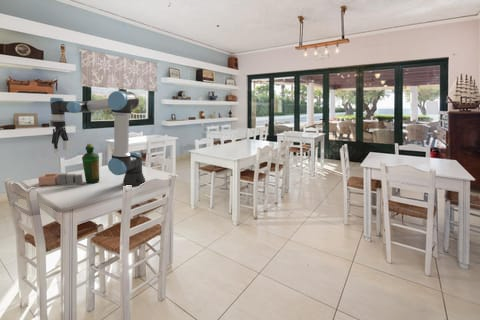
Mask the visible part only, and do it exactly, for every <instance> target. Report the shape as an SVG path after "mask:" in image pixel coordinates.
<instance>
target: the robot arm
mask: <svg viewBox="0 0 480 320" xmlns="http://www.w3.org/2000/svg"><path fill="white" fill-rule="evenodd" d="M107 97H108V98H102V99H95V100H93V99H92V100H86V101H85V100H84V101H78V100H77V101H74V100H73V101H72V100H70V101H68V100H64V97H50V100H49V102H50V103H49V105H50V114H51V120H52V122H51V124H52V127H54V128H53V129H52V137H51V138H52V139H51V144H52V145H53V151H54V154H60V145H59V144H60V143H59V140H60V138H61V140H62V150H63V151H68V150H69V149H68V141H69V136H68V133H67V129H66V125H67V124H66V113H70V114H71V113H72V114H79V113H92V112H99V111H108V110H111V113H112V114H113V115H114V117H113V118H114V119H113V120H114V122H113V123H114V124H113V126H114V127H113V128H114V131H113V132H114V137H113V139H114V141H113V143H114V145H113V146H114V148H113V149H114V151H113V152H112V153H111V158H110V160H108V162H107V167H108V170H109V172H110V173H112V174H113V175H115V176H122V175H124V177H123V180H122V185H123V186H125V185H132V186H131V187H138V186H141V185H140V184H142V183H144V182H145V183H146V179H145V178H146V177H145V176H144V173H143V157H142V153H141V152H137V151H136V152H135V151H134V152H133V151H129V140H130V139H129V136H130V135H129V132H130V131H129V127H130V121H129V120H130V116H131V115H132V110H135V109H136V108H137V107H138V106H139V105H140V99H139V96H138V95H137V94H136V93H135V92H132V91H123V90H115V91H112V92H111V93H110V94H109V96H107Z"/></svg>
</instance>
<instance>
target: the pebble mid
mask: <svg viewBox="0 0 480 320" xmlns="http://www.w3.org/2000/svg"><path fill="white" fill-rule="evenodd" d="M75 175H76V173H68V174H67V175H66V181H67V184H66V185H74V184H75Z"/></svg>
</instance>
